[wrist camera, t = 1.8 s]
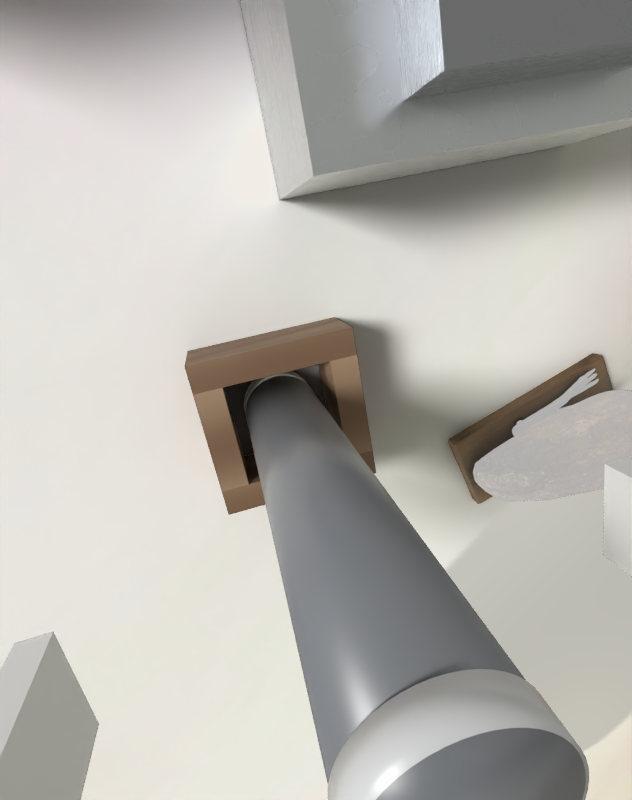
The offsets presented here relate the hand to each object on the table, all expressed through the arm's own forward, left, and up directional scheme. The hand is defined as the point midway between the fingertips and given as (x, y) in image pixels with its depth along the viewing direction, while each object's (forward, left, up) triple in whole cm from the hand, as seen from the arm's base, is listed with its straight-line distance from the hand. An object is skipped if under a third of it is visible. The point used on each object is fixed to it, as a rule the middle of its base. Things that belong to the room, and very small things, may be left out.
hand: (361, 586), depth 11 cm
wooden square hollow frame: (0, 0, -13) cm, 13 cm away
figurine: (+4, +16, -13) cm, 21 cm away
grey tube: (0, 0, -13) cm, 13 cm away
